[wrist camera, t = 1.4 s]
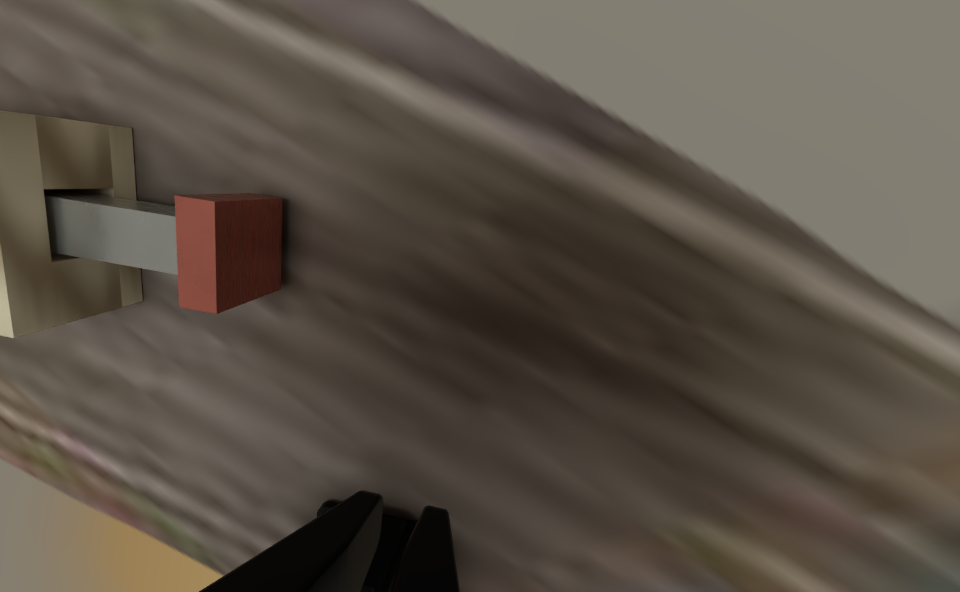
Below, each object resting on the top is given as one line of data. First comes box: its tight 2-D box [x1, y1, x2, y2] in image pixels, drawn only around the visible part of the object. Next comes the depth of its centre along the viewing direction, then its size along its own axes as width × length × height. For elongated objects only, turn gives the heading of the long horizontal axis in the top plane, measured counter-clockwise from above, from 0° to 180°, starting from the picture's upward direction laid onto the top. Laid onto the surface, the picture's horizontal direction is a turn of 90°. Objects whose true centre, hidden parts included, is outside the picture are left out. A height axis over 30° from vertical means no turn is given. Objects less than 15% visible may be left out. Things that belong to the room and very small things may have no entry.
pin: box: [44, 189, 282, 314], centre depth 19 cm, size 4×12×4 cm, turn 82°
